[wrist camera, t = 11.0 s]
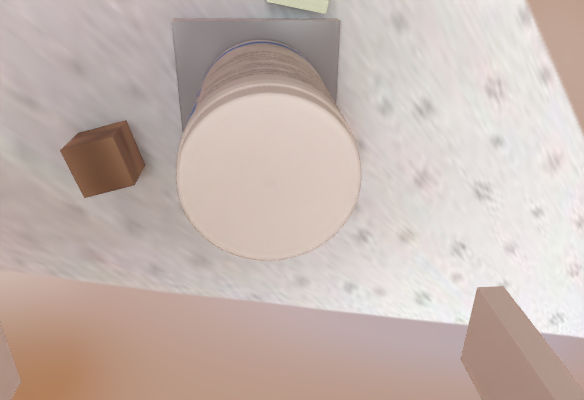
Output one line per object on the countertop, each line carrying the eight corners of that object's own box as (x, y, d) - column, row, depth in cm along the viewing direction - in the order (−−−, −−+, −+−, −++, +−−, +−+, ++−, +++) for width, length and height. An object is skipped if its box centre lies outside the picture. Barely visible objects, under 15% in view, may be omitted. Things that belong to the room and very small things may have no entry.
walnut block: (100, 176, 39) (84, 198, 36) (78, 132, 37) (60, 150, 34) (145, 165, 39) (134, 185, 36) (126, 120, 37) (112, 136, 34)
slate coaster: (189, 170, 39) (187, 176, 38) (174, 18, 34) (171, 20, 33) (330, 167, 40) (332, 173, 39) (337, 18, 35) (340, 20, 34)
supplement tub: (178, 65, 34) (132, 129, 21) (300, 17, 33) (329, 52, 20) (231, 177, 39) (220, 287, 26) (340, 137, 38) (386, 230, 25)
